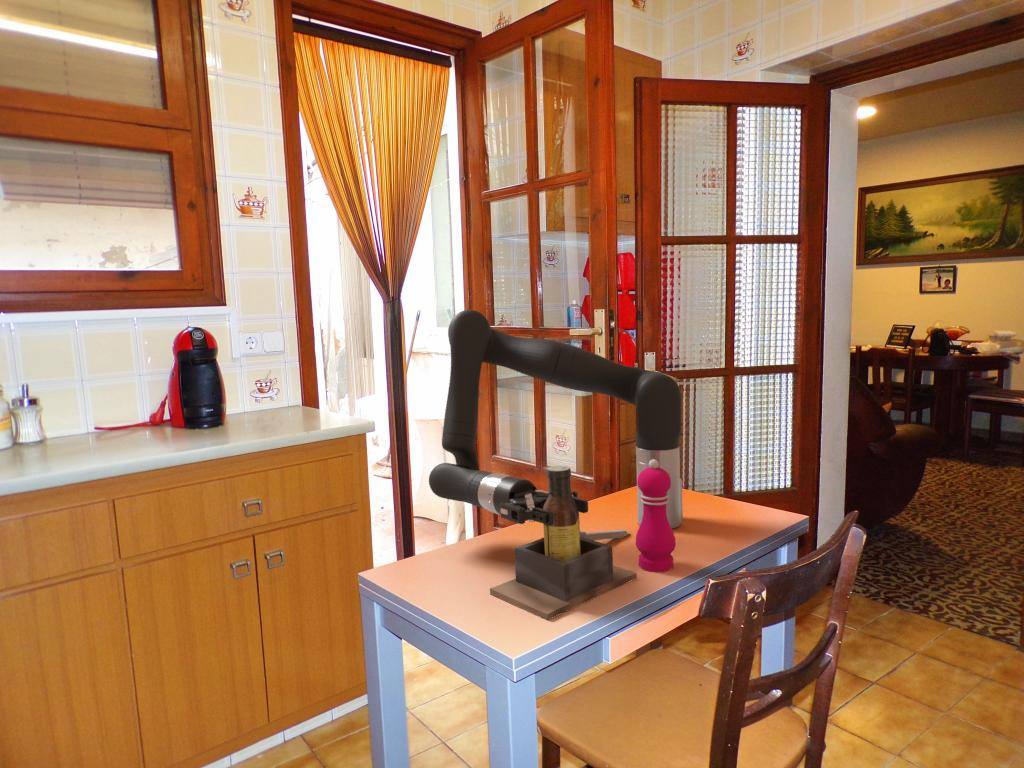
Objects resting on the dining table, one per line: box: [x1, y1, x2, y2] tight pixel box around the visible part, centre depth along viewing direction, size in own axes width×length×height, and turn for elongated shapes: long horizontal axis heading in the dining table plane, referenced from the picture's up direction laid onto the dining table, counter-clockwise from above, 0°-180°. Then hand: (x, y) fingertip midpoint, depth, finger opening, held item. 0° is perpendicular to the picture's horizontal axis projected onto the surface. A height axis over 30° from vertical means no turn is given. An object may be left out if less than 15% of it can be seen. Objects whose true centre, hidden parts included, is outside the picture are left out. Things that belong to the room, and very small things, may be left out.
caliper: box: [580, 529, 631, 541], centre depth 135 cm, size 20×1×6 cm, turn 129°
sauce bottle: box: [542, 465, 581, 562], centre depth 116 cm, size 6×6×20 cm
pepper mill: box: [635, 459, 677, 573], centre depth 123 cm, size 7×7×20 cm
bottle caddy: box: [489, 537, 638, 620], centre depth 117 cm, size 22×14×7 cm, turn 131°
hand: (569, 512), depth 114 cm, fingers open, 8 cm apart
